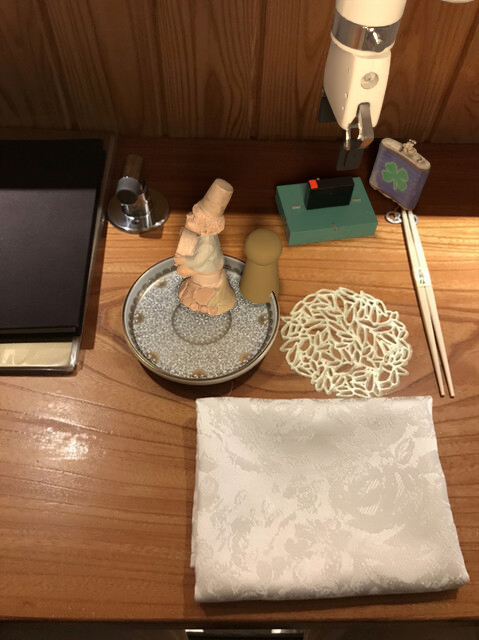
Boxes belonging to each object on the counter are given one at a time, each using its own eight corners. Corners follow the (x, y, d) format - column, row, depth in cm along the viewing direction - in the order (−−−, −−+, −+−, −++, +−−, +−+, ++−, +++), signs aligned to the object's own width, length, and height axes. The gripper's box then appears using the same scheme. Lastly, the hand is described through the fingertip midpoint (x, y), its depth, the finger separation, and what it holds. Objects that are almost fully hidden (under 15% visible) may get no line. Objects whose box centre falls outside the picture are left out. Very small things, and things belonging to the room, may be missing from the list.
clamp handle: (346, 197, 89) (352, 174, 85) (349, 205, 89) (355, 183, 85) (303, 202, 89) (307, 179, 85) (306, 210, 88) (310, 188, 84)
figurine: (238, 272, 85) (241, 173, 68) (234, 320, 80) (237, 225, 63) (179, 269, 85) (168, 168, 68) (172, 316, 80) (158, 220, 63)
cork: (233, 295, 82) (234, 247, 73) (247, 265, 86) (250, 216, 76) (271, 309, 81) (278, 262, 72) (285, 278, 84) (293, 229, 75)
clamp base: (355, 187, 95) (359, 173, 92) (375, 238, 89) (379, 224, 86) (274, 196, 93) (275, 182, 91) (289, 248, 88) (291, 235, 85)
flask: (365, 183, 95) (380, 132, 86) (376, 175, 97) (392, 123, 88) (409, 213, 92) (430, 163, 83) (419, 204, 93) (441, 154, 84)
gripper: (422, 68, 60) (381, 185, 74) (373, -18, 69) (345, 102, 83) (355, 73, 59) (327, 191, 74) (314, -15, 68) (296, 106, 82)
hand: (337, 143), depth 78 cm, fingers open, 9 cm apart
